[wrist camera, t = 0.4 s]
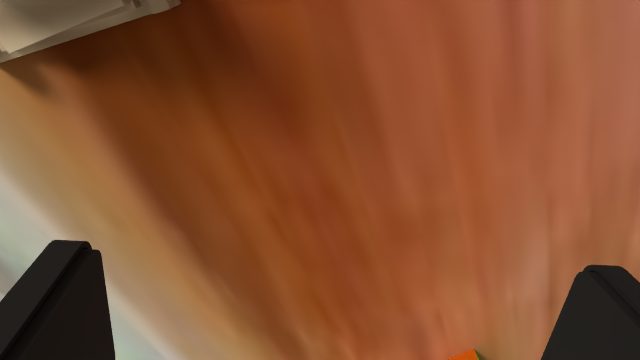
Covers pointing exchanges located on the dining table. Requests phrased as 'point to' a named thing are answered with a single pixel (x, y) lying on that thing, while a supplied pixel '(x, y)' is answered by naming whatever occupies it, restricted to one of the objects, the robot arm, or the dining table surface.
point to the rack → (94, 27)
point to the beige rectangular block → (51, 18)
